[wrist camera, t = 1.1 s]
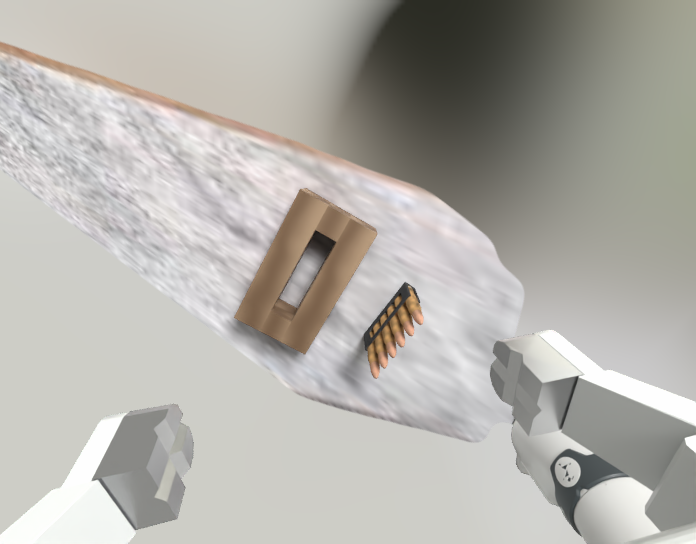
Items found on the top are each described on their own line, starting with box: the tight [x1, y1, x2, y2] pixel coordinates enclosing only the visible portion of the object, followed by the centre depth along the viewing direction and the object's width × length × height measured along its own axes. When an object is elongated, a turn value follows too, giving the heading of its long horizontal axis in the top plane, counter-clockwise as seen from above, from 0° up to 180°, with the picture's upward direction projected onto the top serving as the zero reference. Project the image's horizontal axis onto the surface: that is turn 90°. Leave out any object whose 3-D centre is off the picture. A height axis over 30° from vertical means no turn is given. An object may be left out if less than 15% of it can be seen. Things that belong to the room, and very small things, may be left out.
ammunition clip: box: [364, 282, 423, 379], centre depth 45 cm, size 11×2×12 cm, turn 145°
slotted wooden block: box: [234, 188, 377, 354], centre depth 47 cm, size 11×20×5 cm, turn 150°
